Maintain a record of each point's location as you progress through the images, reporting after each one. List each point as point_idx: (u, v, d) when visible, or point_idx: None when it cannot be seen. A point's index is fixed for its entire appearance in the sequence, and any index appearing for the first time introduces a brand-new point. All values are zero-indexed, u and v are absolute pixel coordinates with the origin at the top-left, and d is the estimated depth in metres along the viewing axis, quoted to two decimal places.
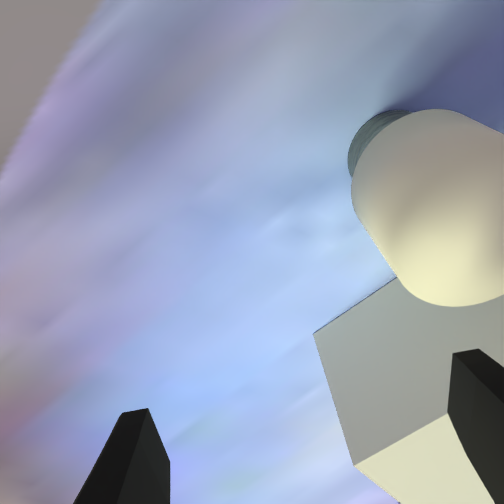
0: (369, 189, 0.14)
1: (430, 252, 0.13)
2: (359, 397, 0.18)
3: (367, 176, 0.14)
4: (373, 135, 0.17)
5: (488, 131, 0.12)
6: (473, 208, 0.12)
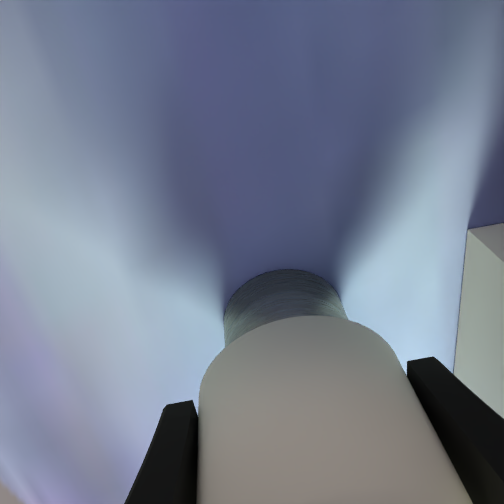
0: None
1: None
2: None
3: None
4: None
5: (220, 463, 0.08)
6: None
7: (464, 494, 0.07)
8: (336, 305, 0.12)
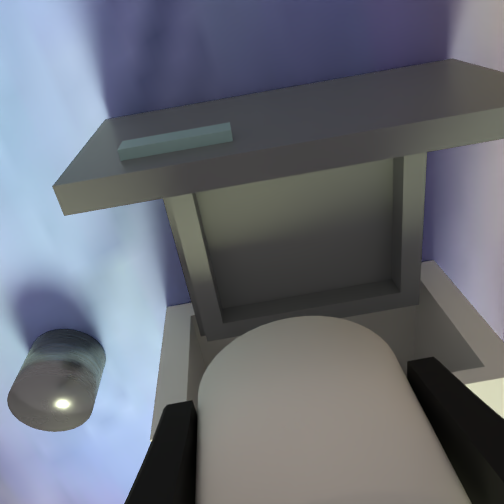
0: None
1: None
2: None
3: None
4: None
5: (220, 462, 0.08)
6: None
7: (464, 495, 0.07)
8: (83, 351, 0.21)
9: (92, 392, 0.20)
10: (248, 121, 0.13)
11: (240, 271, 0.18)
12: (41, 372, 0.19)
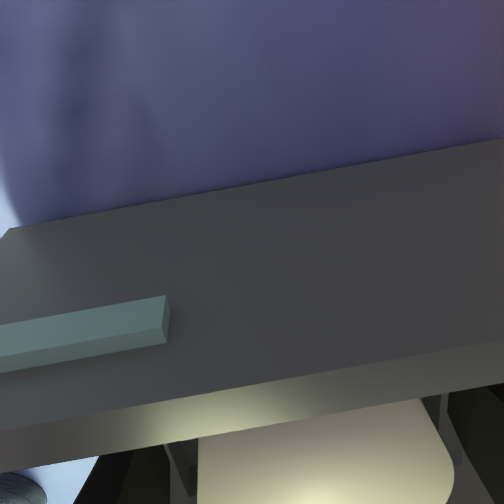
0: None
1: None
2: None
3: None
4: None
5: None
6: None
7: (431, 426, 0.08)
8: None
9: None
10: (204, 273, 0.08)
11: None
12: None
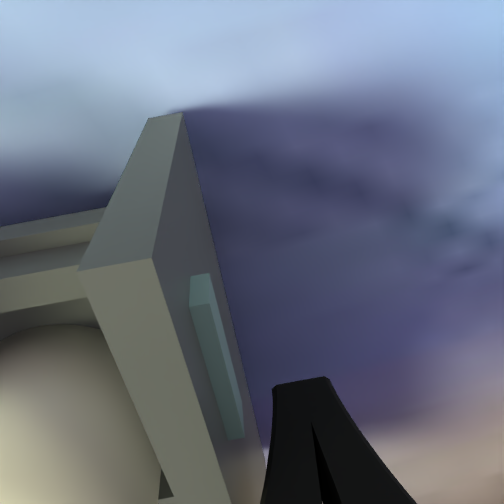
0: None
1: None
2: None
3: None
4: None
5: (100, 426, 0.09)
6: None
7: None
8: None
9: None
10: None
11: None
12: None
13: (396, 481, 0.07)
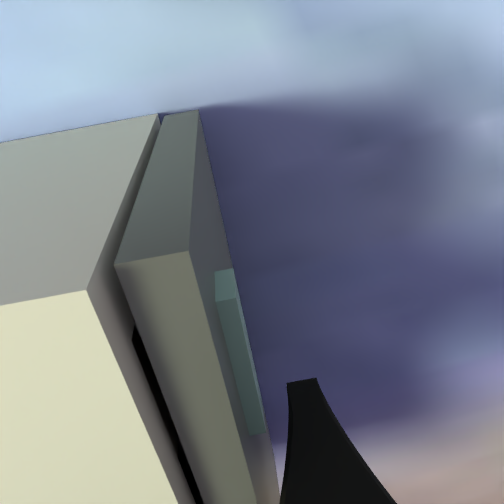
0: None
1: None
2: None
3: None
4: None
5: None
6: None
7: None
8: None
9: None
10: None
11: None
12: None
13: (379, 484, 0.07)
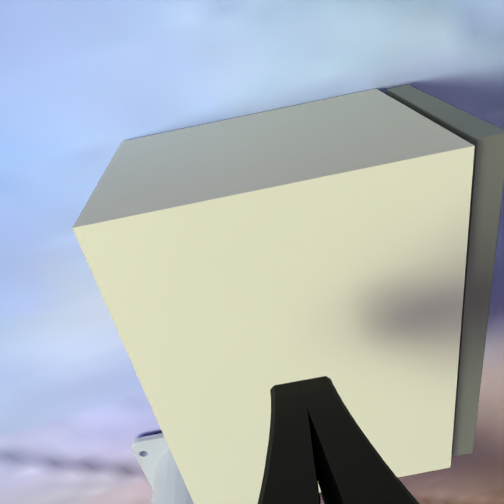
0: None
1: None
2: (132, 181, 0.13)
3: None
4: None
5: None
6: None
7: None
8: None
9: None
10: None
11: None
12: None
13: (398, 481, 0.07)
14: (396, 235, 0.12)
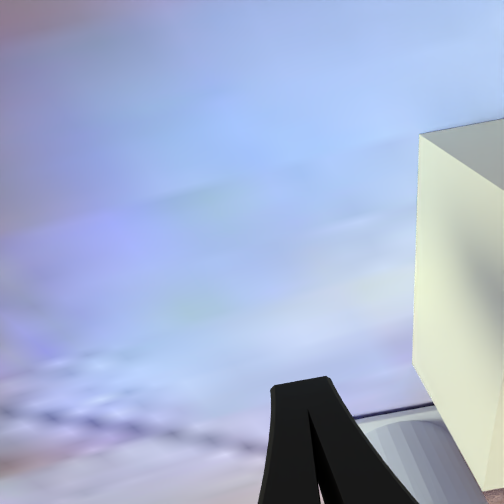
0: None
1: None
2: None
3: None
4: None
5: None
6: None
7: None
8: None
9: None
10: None
11: None
12: None
13: (398, 480, 0.07)
14: None
